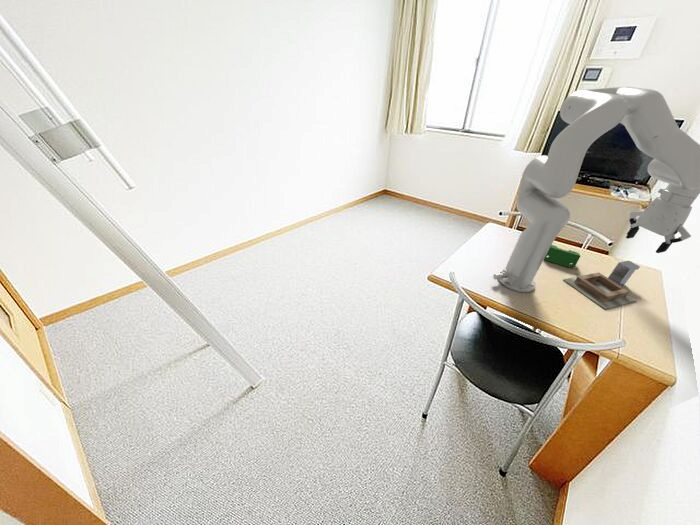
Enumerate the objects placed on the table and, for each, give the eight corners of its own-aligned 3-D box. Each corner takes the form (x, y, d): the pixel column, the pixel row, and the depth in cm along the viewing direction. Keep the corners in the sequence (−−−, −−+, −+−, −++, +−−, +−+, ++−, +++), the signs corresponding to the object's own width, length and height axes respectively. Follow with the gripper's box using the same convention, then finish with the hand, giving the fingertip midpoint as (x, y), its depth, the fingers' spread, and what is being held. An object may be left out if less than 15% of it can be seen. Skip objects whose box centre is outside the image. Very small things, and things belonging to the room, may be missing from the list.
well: (604, 309, 100) (609, 302, 98) (562, 280, 112) (566, 273, 110) (636, 301, 105) (641, 294, 103) (593, 274, 117) (597, 267, 115)
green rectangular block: (562, 270, 125) (582, 255, 121) (563, 274, 120) (584, 259, 116) (538, 251, 128) (556, 235, 123) (538, 254, 123) (557, 238, 118)
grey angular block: (617, 286, 111) (630, 268, 107) (606, 279, 114) (618, 262, 110) (627, 283, 113) (640, 266, 108) (616, 277, 116) (628, 260, 111)
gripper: (639, 188, 100) (611, 233, 110) (703, 211, 87) (664, 260, 96) (654, 187, 102) (625, 231, 112) (718, 208, 89) (679, 256, 98)
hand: (643, 244), depth 104 cm, fingers open, 9 cm apart
